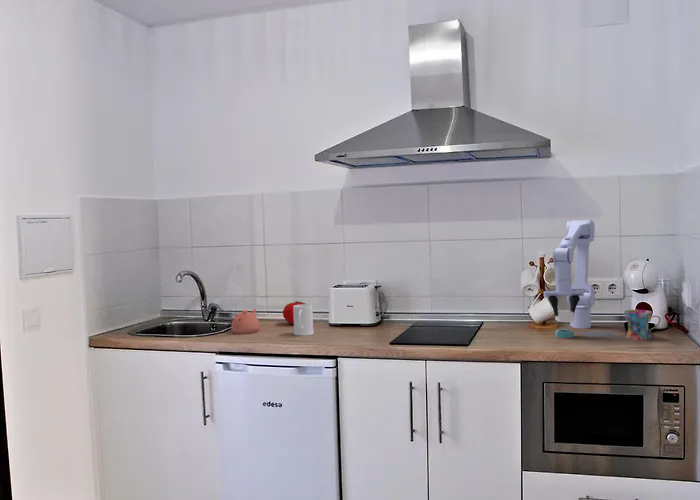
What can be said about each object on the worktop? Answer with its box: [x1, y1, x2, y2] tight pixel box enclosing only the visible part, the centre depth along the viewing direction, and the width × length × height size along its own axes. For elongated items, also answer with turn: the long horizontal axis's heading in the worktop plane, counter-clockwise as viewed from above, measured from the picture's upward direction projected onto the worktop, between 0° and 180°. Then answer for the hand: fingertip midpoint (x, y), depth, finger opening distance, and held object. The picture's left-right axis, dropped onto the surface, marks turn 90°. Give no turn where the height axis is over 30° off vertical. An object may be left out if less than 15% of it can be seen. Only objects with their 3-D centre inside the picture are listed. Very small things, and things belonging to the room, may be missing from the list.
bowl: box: [554, 328, 575, 339], centre depth 247 cm, size 6×6×3 cm
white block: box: [554, 309, 574, 323], centre depth 246 cm, size 5×5×3 cm
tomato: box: [282, 300, 306, 325], centre depth 304 cm, size 13×12×11 cm
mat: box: [577, 330, 620, 339], centre depth 249 cm, size 12×12×1 cm
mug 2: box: [623, 309, 661, 341], centre depth 239 cm, size 12×9×11 cm
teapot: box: [230, 308, 261, 335], centre depth 288 cm, size 12×18×10 cm
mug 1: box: [293, 303, 315, 337], centre depth 276 cm, size 12×8×12 cm
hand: (564, 315), depth 247 cm, fingers closed on white block, 5 cm apart
